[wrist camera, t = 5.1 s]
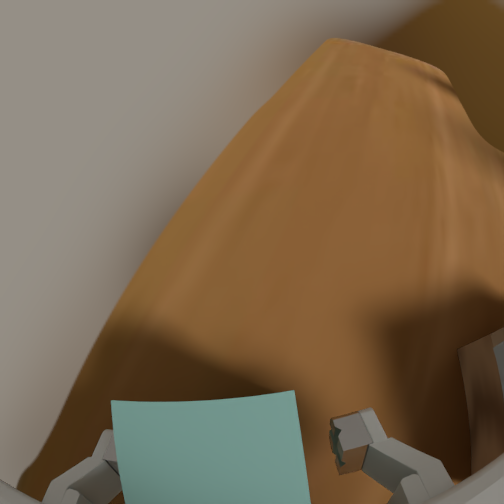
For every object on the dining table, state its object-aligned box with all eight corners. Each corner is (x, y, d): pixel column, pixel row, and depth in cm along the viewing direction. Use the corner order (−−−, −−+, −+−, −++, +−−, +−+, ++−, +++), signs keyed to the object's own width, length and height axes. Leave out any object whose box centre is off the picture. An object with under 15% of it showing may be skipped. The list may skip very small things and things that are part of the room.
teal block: (294, 470, 11) (316, 548, 3) (209, 477, 11) (136, 546, 3) (283, 394, 13) (294, 390, 6) (199, 403, 13) (110, 400, 6)
